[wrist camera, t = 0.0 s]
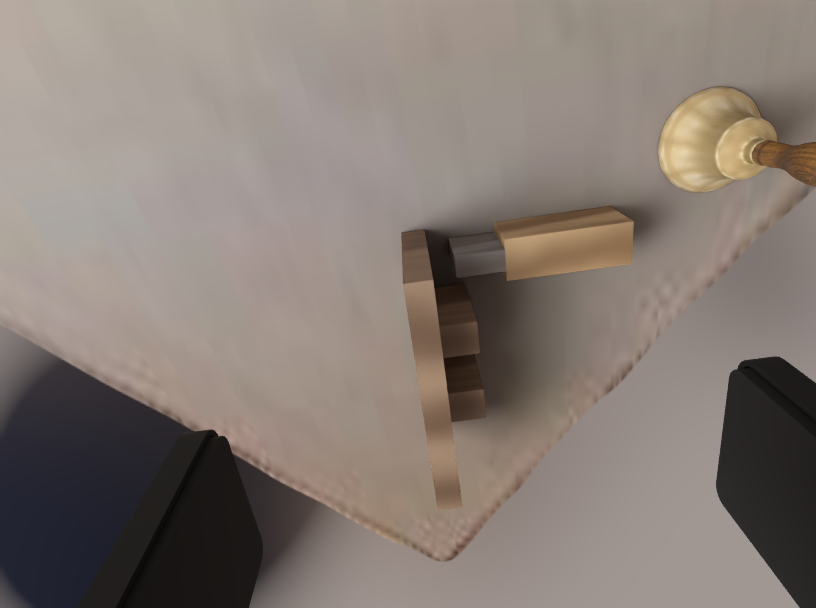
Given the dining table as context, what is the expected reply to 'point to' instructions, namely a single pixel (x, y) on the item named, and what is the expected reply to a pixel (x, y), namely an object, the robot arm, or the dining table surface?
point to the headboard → (441, 361)
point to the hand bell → (726, 143)
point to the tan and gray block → (547, 245)
